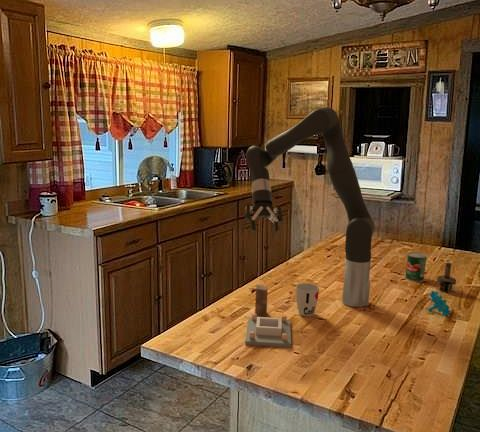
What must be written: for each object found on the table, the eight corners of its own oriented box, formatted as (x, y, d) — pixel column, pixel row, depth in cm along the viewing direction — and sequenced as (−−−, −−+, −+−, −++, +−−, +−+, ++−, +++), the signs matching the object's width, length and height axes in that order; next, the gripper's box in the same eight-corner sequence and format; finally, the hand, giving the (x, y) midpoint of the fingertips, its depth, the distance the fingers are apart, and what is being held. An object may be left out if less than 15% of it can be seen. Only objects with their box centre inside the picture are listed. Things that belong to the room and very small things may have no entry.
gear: (445, 316, 175) (429, 291, 179) (431, 324, 178) (415, 299, 182) (456, 312, 183) (440, 288, 187) (443, 319, 186) (427, 296, 190)
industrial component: (454, 295, 200) (458, 266, 198) (435, 292, 203) (438, 264, 200) (454, 288, 209) (458, 260, 206) (436, 285, 211) (439, 258, 209)
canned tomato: (404, 280, 217) (406, 255, 215) (405, 274, 224) (408, 251, 222) (423, 282, 214) (426, 258, 212) (424, 277, 221) (427, 253, 219)
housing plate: (289, 323, 169) (290, 312, 168) (291, 347, 151) (291, 336, 151) (248, 320, 170) (248, 310, 169) (245, 344, 152) (245, 333, 152)
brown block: (266, 312, 177) (267, 285, 175) (266, 316, 173) (267, 289, 171) (255, 311, 178) (256, 285, 176) (254, 316, 174) (255, 289, 172)
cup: (303, 319, 172) (304, 292, 170) (290, 311, 179) (291, 284, 177) (322, 315, 176) (323, 289, 174) (308, 307, 183) (310, 281, 181)
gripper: (246, 187, 188) (249, 226, 181) (282, 190, 192) (286, 228, 185) (241, 196, 195) (243, 234, 188) (275, 198, 199) (279, 236, 192)
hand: (264, 231), depth 187 cm, fingers open, 8 cm apart
